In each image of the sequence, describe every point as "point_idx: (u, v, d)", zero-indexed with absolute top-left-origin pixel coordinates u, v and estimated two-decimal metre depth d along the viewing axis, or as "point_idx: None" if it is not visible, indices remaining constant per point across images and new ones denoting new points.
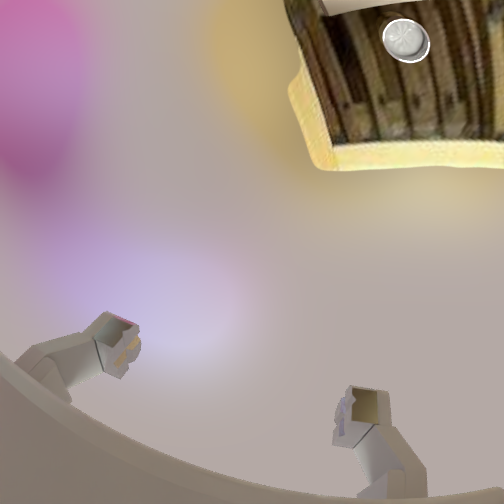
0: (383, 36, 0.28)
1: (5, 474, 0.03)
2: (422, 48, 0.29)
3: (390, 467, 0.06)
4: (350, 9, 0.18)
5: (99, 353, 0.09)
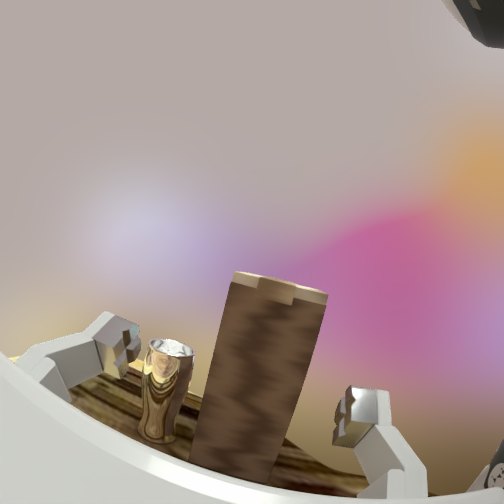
0: (186, 345, 0.41)
1: (5, 474, 0.03)
2: None
3: (390, 467, 0.06)
4: (247, 272, 0.43)
5: (99, 353, 0.09)
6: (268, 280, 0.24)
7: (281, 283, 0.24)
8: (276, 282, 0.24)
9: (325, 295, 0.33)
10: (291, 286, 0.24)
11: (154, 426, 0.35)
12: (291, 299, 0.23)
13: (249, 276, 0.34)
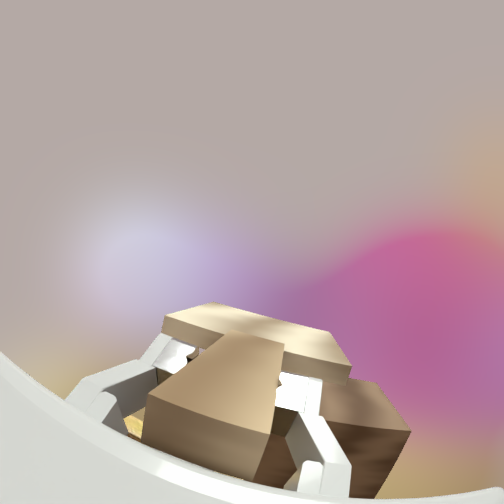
0: None
1: (5, 474, 0.03)
2: None
3: (313, 459, 0.07)
4: (208, 304, 0.25)
5: (159, 380, 0.09)
6: (175, 408, 0.06)
7: (218, 422, 0.06)
8: (201, 418, 0.06)
9: (345, 367, 0.15)
10: (252, 433, 0.06)
11: None
12: (252, 467, 0.06)
13: (192, 327, 0.16)
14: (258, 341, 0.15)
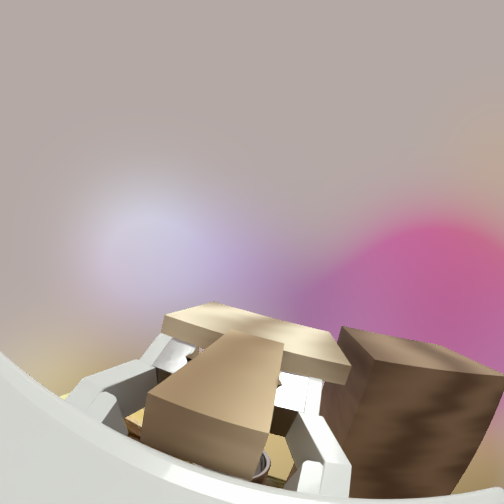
0: None
1: (5, 474, 0.03)
2: None
3: (313, 459, 0.07)
4: (208, 303, 0.26)
5: (159, 380, 0.09)
6: (174, 407, 0.06)
7: (217, 421, 0.06)
8: (200, 417, 0.06)
9: (345, 367, 0.15)
10: (252, 433, 0.06)
11: None
12: (251, 466, 0.06)
13: (192, 326, 0.16)
14: (258, 341, 0.15)
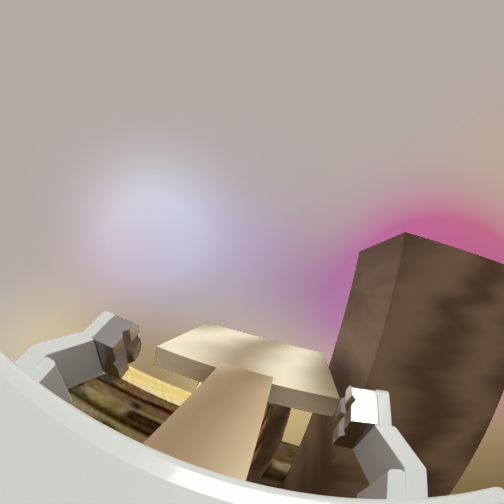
0: None
1: (5, 474, 0.03)
2: None
3: (390, 467, 0.06)
4: (203, 325, 0.25)
5: (99, 353, 0.09)
6: None
7: None
8: None
9: (333, 400, 0.15)
10: None
11: None
12: None
13: (184, 358, 0.16)
14: (246, 376, 0.15)
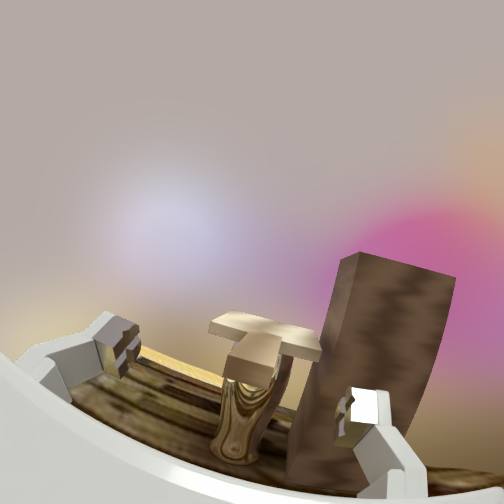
0: None
1: (5, 474, 0.03)
2: None
3: (390, 467, 0.06)
4: (231, 311, 0.37)
5: (99, 353, 0.09)
6: (238, 359, 0.18)
7: (255, 363, 0.18)
8: (249, 362, 0.18)
9: (318, 351, 0.27)
10: (268, 367, 0.18)
11: (239, 444, 0.28)
12: (268, 383, 0.17)
13: (228, 327, 0.28)
14: (267, 335, 0.26)
